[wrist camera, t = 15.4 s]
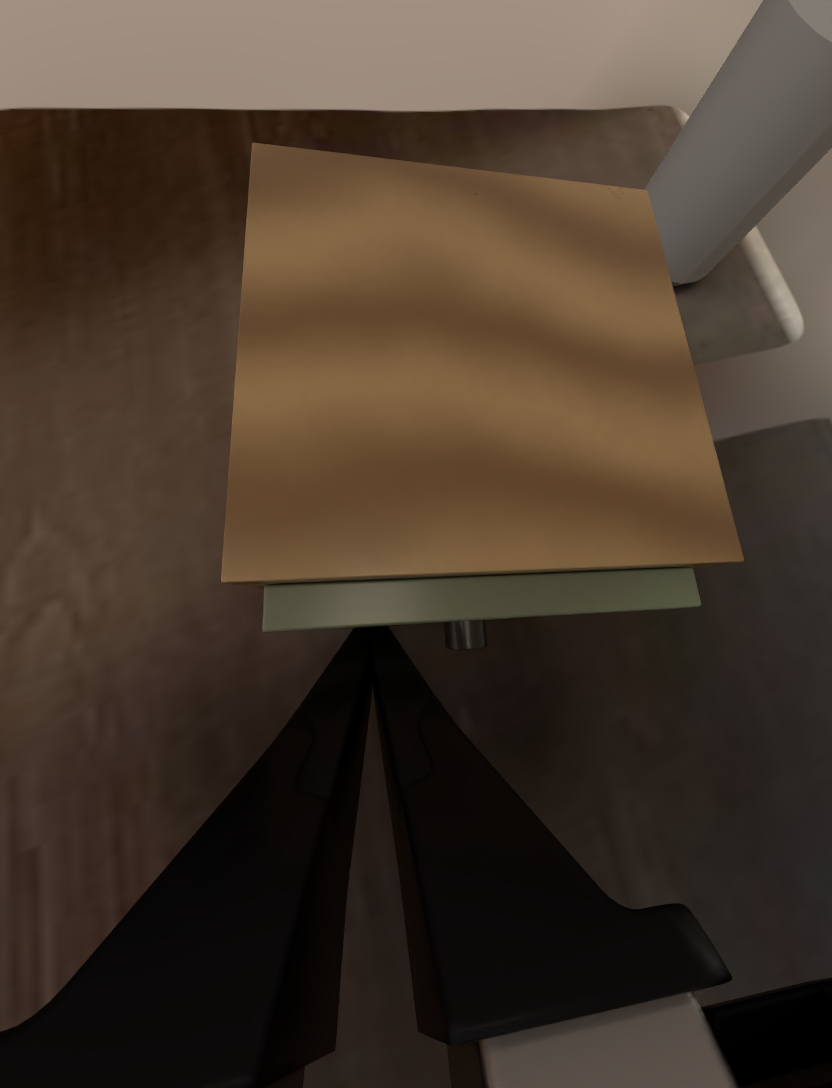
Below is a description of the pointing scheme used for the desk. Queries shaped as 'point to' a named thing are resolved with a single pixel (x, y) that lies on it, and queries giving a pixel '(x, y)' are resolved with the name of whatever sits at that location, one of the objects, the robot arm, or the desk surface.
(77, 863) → the desk surface
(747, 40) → the can
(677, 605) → the drawer
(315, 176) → the cabinet
